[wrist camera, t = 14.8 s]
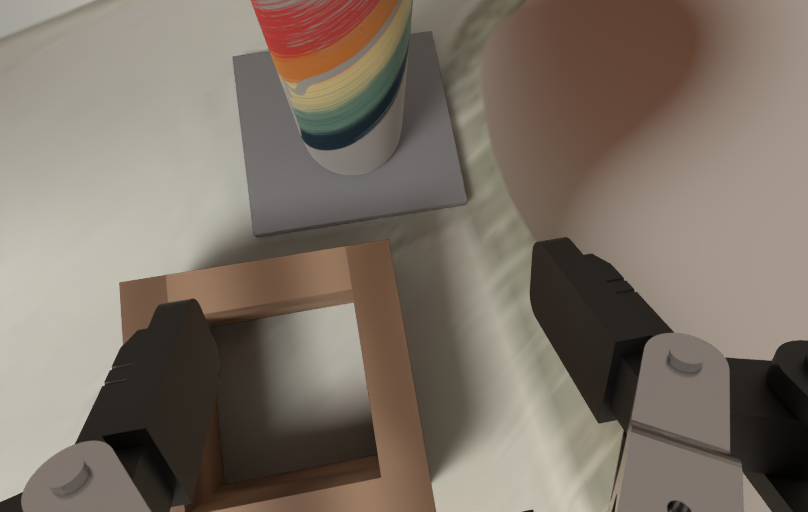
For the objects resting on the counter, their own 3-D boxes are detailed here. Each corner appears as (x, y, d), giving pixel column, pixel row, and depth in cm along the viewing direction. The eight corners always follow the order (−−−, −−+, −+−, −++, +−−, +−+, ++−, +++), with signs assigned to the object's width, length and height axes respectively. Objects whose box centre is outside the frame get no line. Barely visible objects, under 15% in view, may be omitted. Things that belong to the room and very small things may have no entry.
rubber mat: (256, 237, 27) (253, 234, 26) (235, 62, 29) (232, 56, 29) (465, 204, 28) (467, 201, 27) (430, 37, 30) (431, 31, 30)
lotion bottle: (286, 109, 28) (65, -460, 8) (374, 72, 29) (359, -532, 9) (327, 194, 27) (187, -227, 8) (418, 153, 28) (503, -327, 8)
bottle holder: (187, 535, 24) (137, 581, 19) (168, 296, 26) (119, 282, 21) (426, 487, 25) (437, 519, 20) (387, 260, 27) (388, 239, 22)
